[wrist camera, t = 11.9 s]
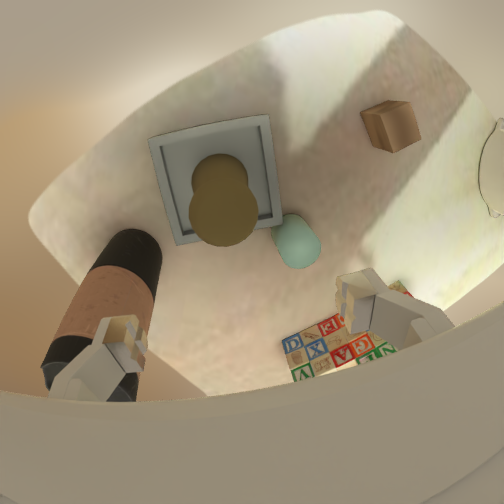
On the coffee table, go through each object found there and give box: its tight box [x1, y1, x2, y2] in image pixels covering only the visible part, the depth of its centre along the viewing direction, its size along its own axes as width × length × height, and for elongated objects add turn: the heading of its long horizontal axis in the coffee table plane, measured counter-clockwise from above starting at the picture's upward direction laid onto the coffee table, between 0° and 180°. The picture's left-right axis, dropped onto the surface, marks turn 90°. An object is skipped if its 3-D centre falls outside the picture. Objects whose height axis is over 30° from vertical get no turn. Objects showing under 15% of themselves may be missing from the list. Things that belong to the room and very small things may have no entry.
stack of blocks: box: [282, 281, 414, 382], centre depth 38 cm, size 21×6×12 cm, turn 116°
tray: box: [148, 114, 283, 246], centre depth 29 cm, size 12×12×2 cm
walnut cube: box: [360, 101, 421, 153], centre depth 26 cm, size 4×4×4 cm
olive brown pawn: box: [189, 153, 259, 247], centre depth 24 cm, size 6×6×11 cm
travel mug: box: [41, 229, 162, 402], centre depth 24 cm, size 8×8×20 cm
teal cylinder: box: [271, 214, 321, 269], centre depth 32 cm, size 4×4×5 cm
